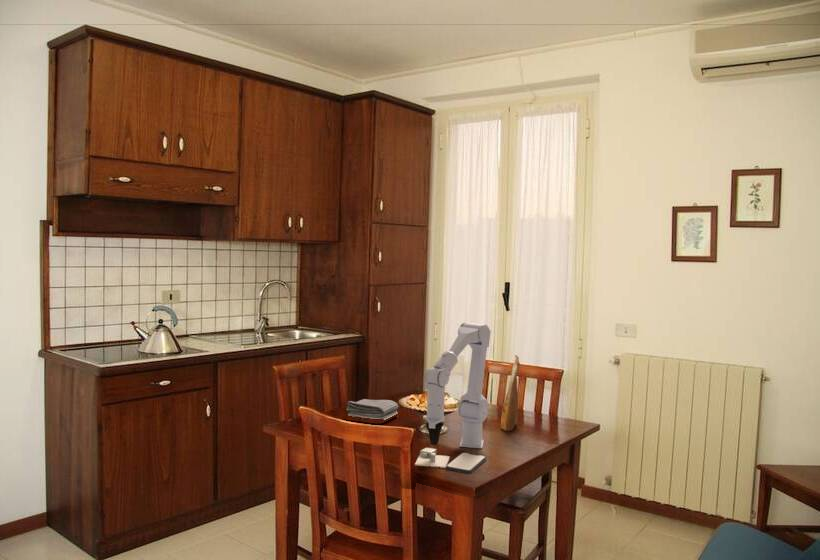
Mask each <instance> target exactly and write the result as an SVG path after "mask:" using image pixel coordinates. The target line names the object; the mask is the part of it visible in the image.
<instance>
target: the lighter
mask: <svg viewBox="0 0 820 560" xmlns="http://www.w3.org/2000/svg"><path fill="white" fill-rule="evenodd" d="M435 455H437V448H432V447H425V448H423V449H420V451H419V456H424V457H429V458H431V462H435Z"/></svg>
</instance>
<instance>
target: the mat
mask: <svg viewBox="0 0 820 560" xmlns="http://www.w3.org/2000/svg"><path fill="white" fill-rule="evenodd" d="M450 458H451V456H448V455H440V454H439V455H438V454H436V455H435V462H431V458H429V457H424V456H420V455H418V457H417V459H416V460H415V461H416V462H415V463H414V466H419V467H429V466H430V468H431V467H432V468H439V467H440V469H446V465H448V464H449V461H450Z"/></svg>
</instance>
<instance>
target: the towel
mask: <svg viewBox="0 0 820 560" xmlns="http://www.w3.org/2000/svg"><path fill="white" fill-rule="evenodd" d="M399 408H400V407H399V404H398V402H395V401H394V400H390V399H368V398H367V399H366V398H363V399H360V400H358V401H352V400H351V401H350V400H349V401H348V402H347V407H346V408H345V410H346V411H347V412H348V414H347V415H348V416H352V417H361V418H370V419H383V420H386V419H388V418H390V417H392V416H394V415H396V414H398V411H397V410H398V409H399Z"/></svg>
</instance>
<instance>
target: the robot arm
mask: <svg viewBox="0 0 820 560" xmlns="http://www.w3.org/2000/svg"><path fill="white" fill-rule="evenodd" d="M490 340H491V329H490V327H489V326H488V324H486V323H485V324H484V323H483V324H482V323H473V322H467V321H464V322H461V324H460V325H459V327H458V329H457V337H456V338H455V340H454V342H453V343H452V345H451V347H450V348H449V349H448V351H444V352H443V353H442V354H441V355H440V357H439V358H438V359H437V361H436V363H434V365H433V367H432V366H431V367H429V368H428V369H427V370H426V371H425V373H424V376H423V380H424V382H425V388H426V390H427V391H426V392H427V394H426V396H427V397H426V415H423V417H422V419H423V420H426V421H427V422H426V423H425V428H426V429H427V432H428V435H429V442H430V445H432V446H438V444H439V440H440V435H441V431H442V429H443V427H444V424H445V422H444V421H445V416H444V415H445V393H446V392H445V390H446V386H447V385H448V383H449V380H450V376H451V372H452V371H453V369H454V368H455V366H456V365H457V363H458V362H459V361H458V357H459V356H460V354H461V353H462V352H463V351H464V350H465V348H466V347H467V346H468V345H469V347H470V348H471V357H470V367H469V374H468V375H469V376H468V380H467V381H468V382H467V392H466V393H464V394H462V395H461V397H460V401H459V404H458V407H457V413H458V416H459V417H460V420H462V426H461V428H462V429H461V440H460V443H459V447H460V448H471V449H483V447H484V442H485V441H484V439H483V422H485V420H486V419H487V417H488V416H489V408H488V407H489V406H488V402H489V401H488V400H487V399H486V397H485V396H484V395H483V385H484V378H485V371H486V370H485V369H486V361H487V360H486V359H487V352H488V348H489V347H490V342H491V341H490Z"/></svg>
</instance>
